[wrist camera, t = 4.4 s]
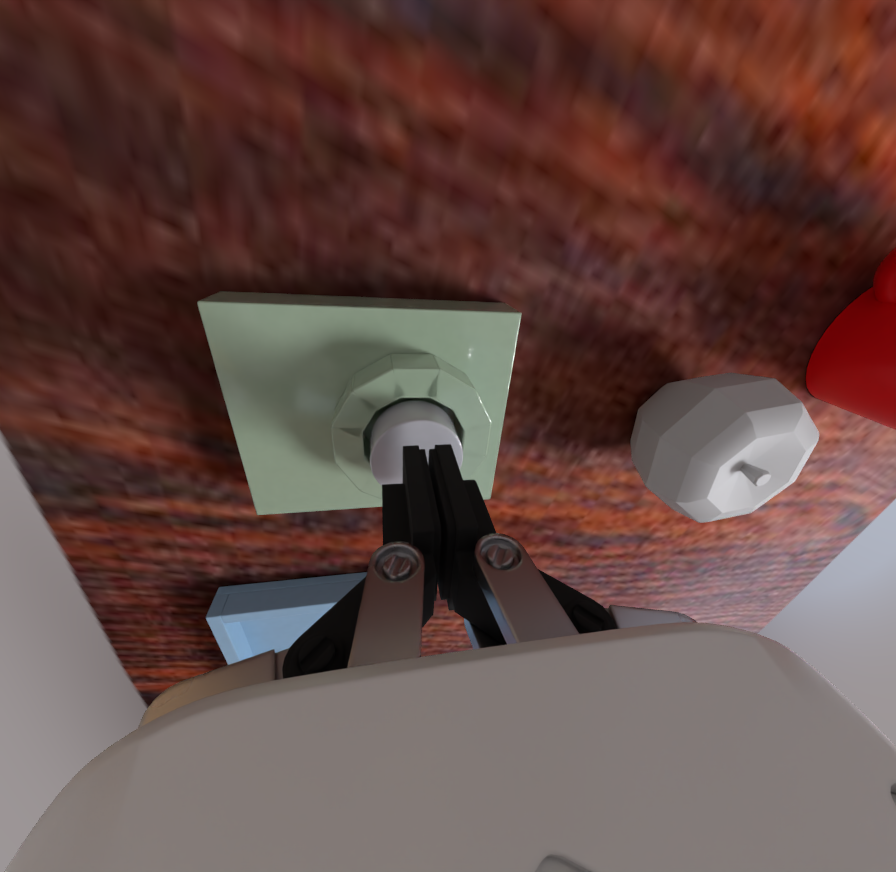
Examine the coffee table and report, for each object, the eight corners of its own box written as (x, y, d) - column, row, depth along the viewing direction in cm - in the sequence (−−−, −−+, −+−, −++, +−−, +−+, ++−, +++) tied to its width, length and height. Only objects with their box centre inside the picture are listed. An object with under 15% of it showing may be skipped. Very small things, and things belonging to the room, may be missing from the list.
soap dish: (254, 672, 27) (246, 703, 26) (218, 586, 22) (204, 618, 20) (414, 649, 30) (416, 675, 28) (417, 566, 24) (420, 593, 23)
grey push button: (372, 474, 15) (371, 500, 14) (368, 400, 14) (367, 421, 12) (451, 470, 16) (459, 494, 15) (458, 399, 14) (467, 419, 13)
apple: (649, 332, 18) (769, 379, 13) (751, 367, 21) (889, 419, 15) (578, 457, 22) (647, 535, 16) (672, 474, 24) (760, 548, 19)
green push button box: (268, 487, 19) (245, 543, 16) (219, 290, 14) (169, 312, 11) (480, 475, 21) (500, 523, 18) (505, 302, 16) (540, 323, 13)
